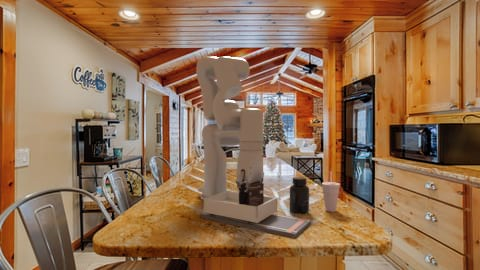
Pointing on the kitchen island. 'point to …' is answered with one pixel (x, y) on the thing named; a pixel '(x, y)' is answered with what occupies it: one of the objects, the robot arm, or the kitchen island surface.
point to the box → (256, 194)
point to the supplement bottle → (299, 196)
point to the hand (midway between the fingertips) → (250, 201)
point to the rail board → (267, 223)
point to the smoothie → (330, 194)
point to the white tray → (238, 207)
